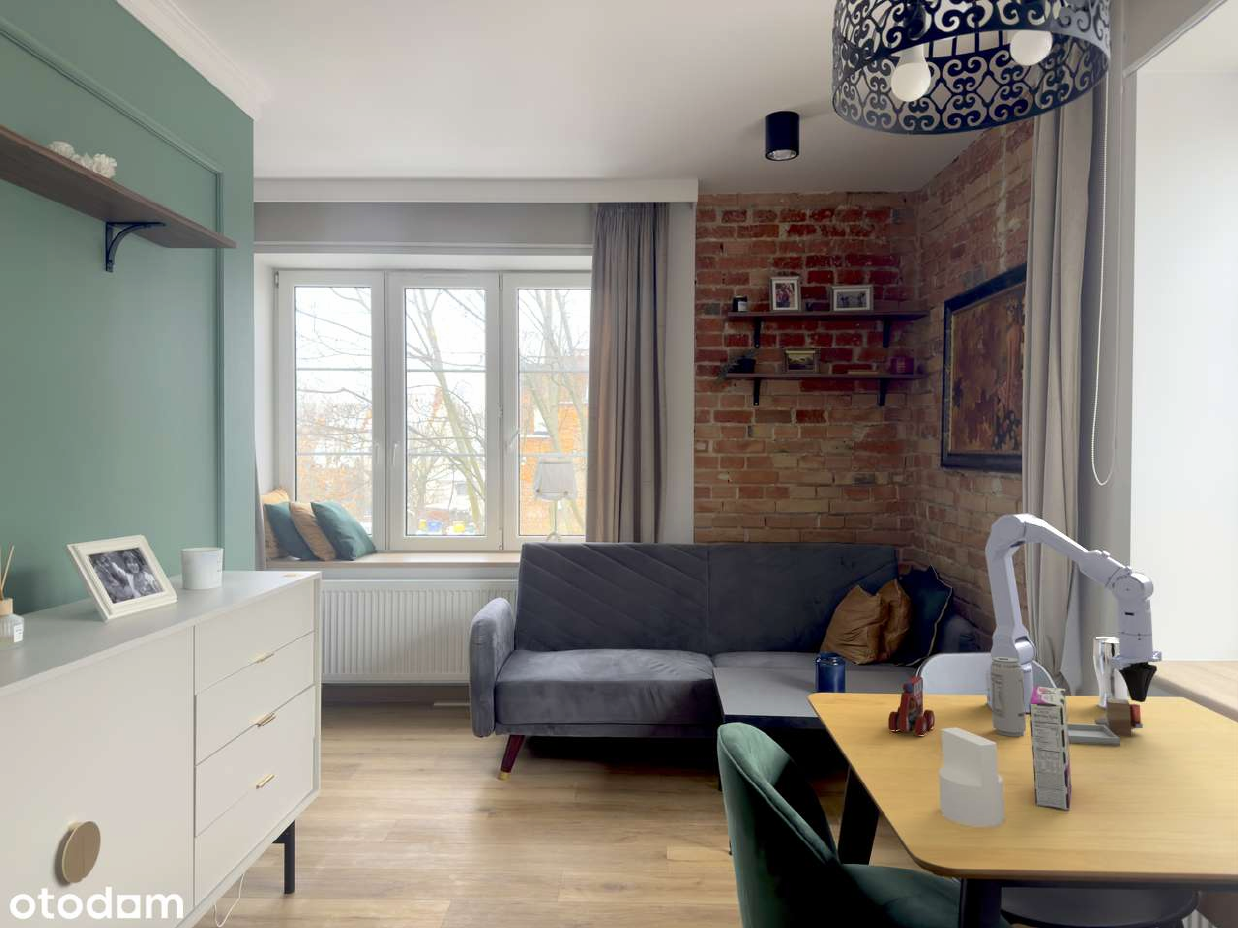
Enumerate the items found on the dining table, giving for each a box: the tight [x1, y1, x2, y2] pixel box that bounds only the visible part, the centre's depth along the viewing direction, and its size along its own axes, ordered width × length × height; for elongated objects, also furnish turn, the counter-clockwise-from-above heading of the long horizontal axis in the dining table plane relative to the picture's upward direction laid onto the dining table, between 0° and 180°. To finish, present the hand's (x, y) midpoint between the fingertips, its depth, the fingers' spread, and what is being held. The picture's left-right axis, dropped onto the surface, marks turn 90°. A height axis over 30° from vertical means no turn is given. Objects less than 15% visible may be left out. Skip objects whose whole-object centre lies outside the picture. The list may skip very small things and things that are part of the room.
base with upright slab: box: [938, 727, 1006, 828], centre depth 119 cm, size 9×9×12 cm
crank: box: [1105, 703, 1143, 729], centre depth 159 cm, size 9×3×4 cm, turn 2°
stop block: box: [1106, 698, 1132, 738], centre depth 155 cm, size 4×4×6 cm
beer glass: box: [1092, 636, 1130, 710], centre depth 174 cm, size 7×7×15 cm
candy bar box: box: [1029, 686, 1072, 811], centre depth 125 cm, size 11×5×16 cm, turn 148°
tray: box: [1067, 722, 1121, 746], centre depth 153 cm, size 9×9×1 cm
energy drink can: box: [989, 656, 1027, 737], centre depth 158 cm, size 6×6×15 cm
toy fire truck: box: [887, 675, 936, 736], centre depth 161 cm, size 7×12×10 cm, turn 142°
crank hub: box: [1094, 717, 1135, 730], centre depth 161 cm, size 7×7×1 cm
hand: (1138, 700), depth 156 cm, fingers closed
